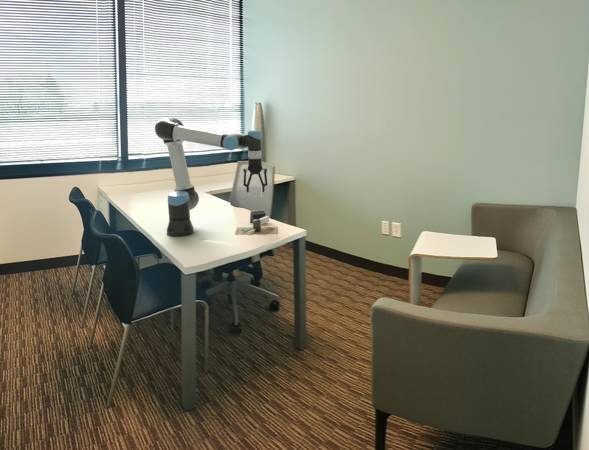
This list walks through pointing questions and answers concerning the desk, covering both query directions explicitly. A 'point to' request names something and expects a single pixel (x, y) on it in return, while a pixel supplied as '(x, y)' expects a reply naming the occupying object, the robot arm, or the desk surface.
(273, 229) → the board
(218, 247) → the desk surface
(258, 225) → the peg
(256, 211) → the electrical switch
